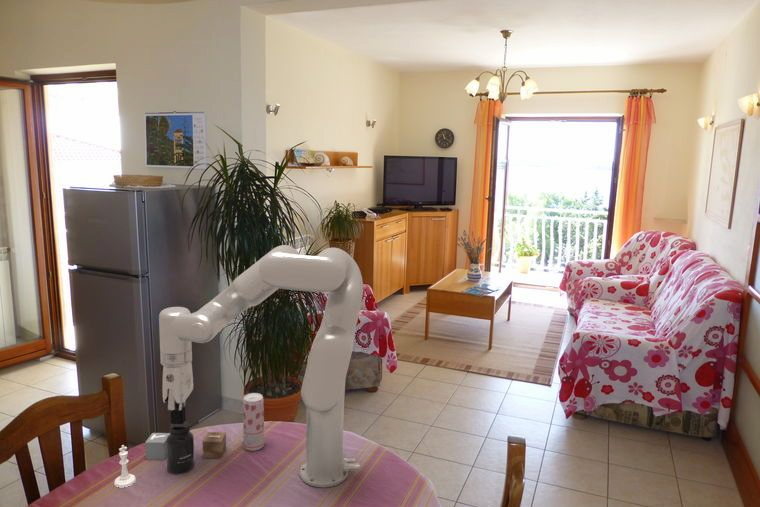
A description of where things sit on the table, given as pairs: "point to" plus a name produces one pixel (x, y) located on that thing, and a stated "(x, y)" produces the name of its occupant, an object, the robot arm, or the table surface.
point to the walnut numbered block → (214, 445)
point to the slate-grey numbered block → (156, 446)
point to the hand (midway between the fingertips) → (178, 422)
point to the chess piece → (124, 471)
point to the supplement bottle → (180, 448)
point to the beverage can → (253, 421)
